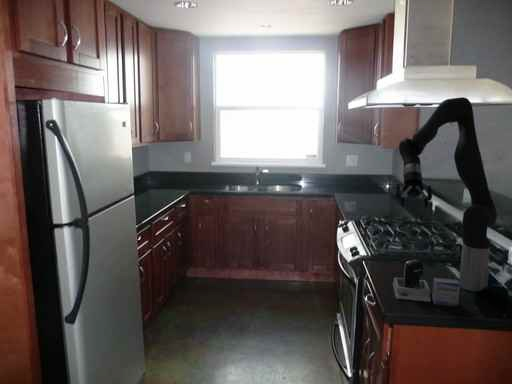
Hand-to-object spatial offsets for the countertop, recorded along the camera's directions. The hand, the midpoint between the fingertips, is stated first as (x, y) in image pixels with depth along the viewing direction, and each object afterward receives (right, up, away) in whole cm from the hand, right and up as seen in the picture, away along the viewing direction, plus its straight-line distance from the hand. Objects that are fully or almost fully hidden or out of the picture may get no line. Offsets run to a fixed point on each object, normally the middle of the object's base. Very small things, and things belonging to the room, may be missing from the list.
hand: (414, 207), depth 171 cm
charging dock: (-7, -32, -15) cm, 36 cm away
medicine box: (+2, -34, -23) cm, 41 cm away
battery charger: (-7, -31, -15) cm, 35 cm away
